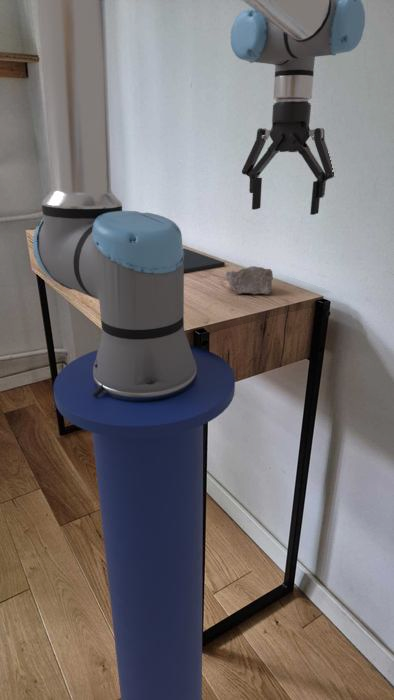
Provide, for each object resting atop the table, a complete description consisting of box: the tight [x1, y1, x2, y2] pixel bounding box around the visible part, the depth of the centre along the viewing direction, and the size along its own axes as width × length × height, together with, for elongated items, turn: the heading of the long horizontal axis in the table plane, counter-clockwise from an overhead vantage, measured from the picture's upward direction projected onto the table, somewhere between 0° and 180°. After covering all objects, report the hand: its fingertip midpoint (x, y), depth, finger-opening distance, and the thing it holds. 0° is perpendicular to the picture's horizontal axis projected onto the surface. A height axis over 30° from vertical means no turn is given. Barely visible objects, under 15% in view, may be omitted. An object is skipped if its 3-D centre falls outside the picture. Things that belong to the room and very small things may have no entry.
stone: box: [225, 265, 274, 295], centre depth 106 cm, size 10×8×6 cm
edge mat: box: [183, 247, 226, 274], centre depth 131 cm, size 20×14×1 cm
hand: (284, 211), depth 105 cm, fingers open, 13 cm apart
